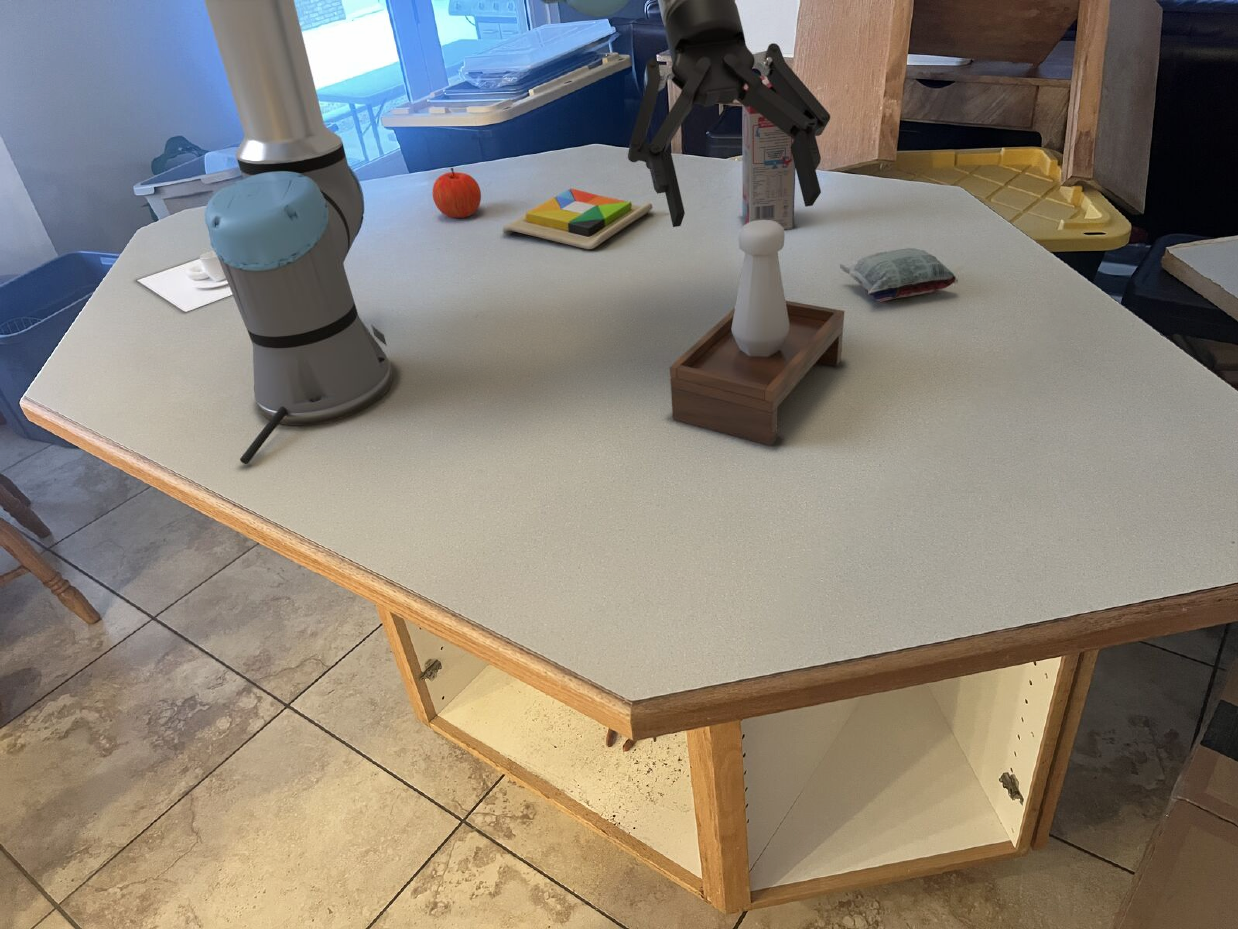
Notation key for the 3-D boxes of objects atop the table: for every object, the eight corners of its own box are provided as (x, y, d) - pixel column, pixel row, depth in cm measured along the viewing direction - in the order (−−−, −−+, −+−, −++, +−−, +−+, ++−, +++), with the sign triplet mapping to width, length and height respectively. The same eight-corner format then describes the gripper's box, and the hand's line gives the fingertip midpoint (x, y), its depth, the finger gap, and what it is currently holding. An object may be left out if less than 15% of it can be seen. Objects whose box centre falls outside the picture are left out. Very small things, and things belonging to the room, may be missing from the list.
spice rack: (771, 446, 79) (772, 391, 75) (672, 419, 84) (669, 366, 81) (840, 362, 91) (844, 310, 87) (749, 342, 96) (750, 293, 92)
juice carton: (749, 232, 124) (750, 74, 111) (742, 217, 129) (742, 64, 116) (793, 228, 123) (799, 69, 111) (784, 213, 129) (789, 60, 116)
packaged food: (838, 283, 106) (841, 247, 103) (924, 269, 108) (929, 233, 105) (867, 312, 100) (871, 274, 97) (958, 297, 101) (965, 259, 98)
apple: (429, 217, 142) (418, 170, 138) (467, 204, 147) (458, 158, 142) (454, 226, 137) (443, 178, 133) (493, 212, 141) (484, 165, 137)
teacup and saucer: (182, 281, 128) (171, 256, 126) (231, 264, 132) (221, 240, 130) (204, 295, 123) (194, 269, 120) (254, 276, 127) (245, 251, 124)
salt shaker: (787, 362, 82) (792, 235, 74) (729, 361, 83) (728, 236, 75) (789, 334, 86) (793, 212, 79) (734, 333, 87) (733, 213, 80)
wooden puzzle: (598, 252, 123) (596, 229, 120) (499, 237, 131) (496, 216, 129) (656, 213, 134) (654, 191, 132) (561, 201, 143) (559, 181, 141)
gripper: (805, 26, 88) (853, 209, 85) (577, 56, 85) (618, 246, 82) (829, -27, 81) (882, 171, 77) (580, 4, 78) (624, 210, 75)
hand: (746, 210), depth 80 cm, fingers open, 13 cm apart
